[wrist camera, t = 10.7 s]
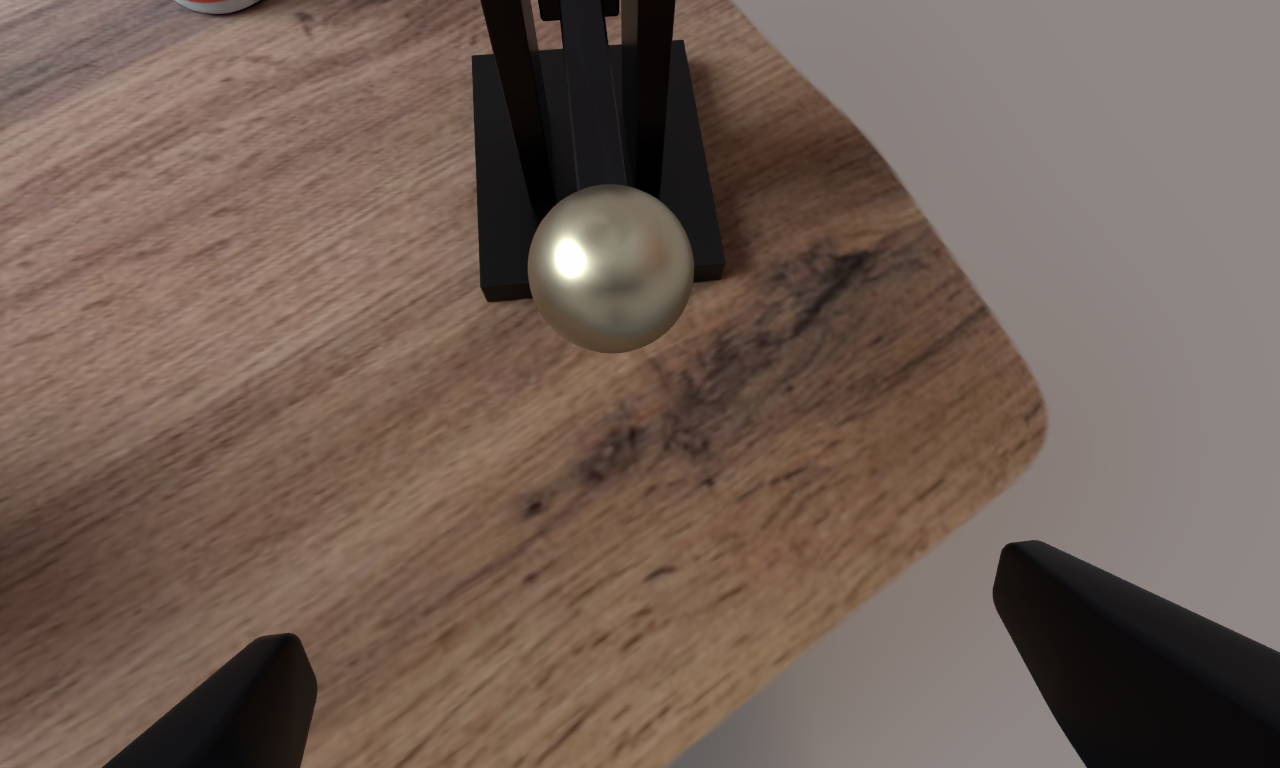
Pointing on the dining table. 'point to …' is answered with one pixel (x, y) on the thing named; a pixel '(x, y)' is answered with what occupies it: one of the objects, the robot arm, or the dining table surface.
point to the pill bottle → (216, 5)
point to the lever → (604, 214)
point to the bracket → (543, 148)
